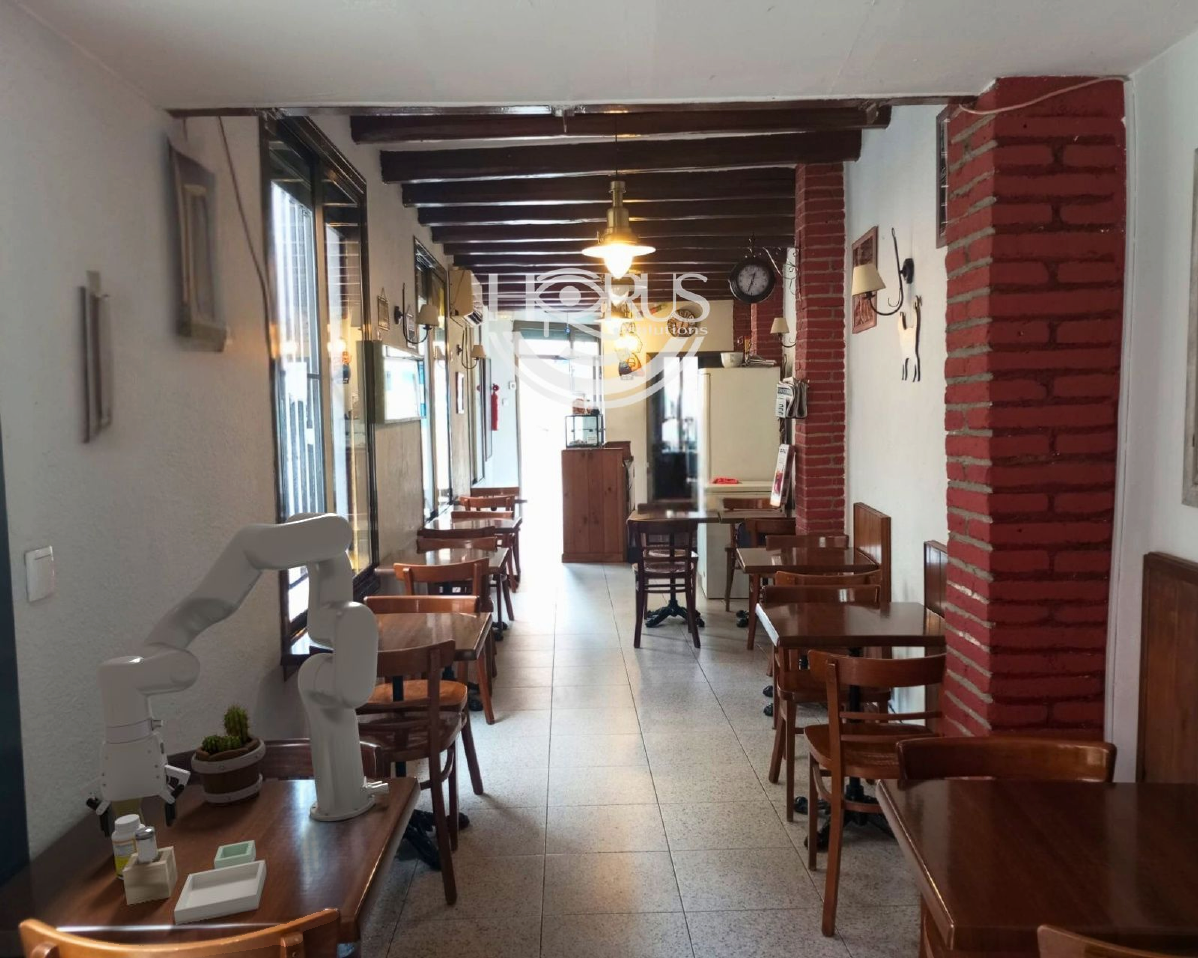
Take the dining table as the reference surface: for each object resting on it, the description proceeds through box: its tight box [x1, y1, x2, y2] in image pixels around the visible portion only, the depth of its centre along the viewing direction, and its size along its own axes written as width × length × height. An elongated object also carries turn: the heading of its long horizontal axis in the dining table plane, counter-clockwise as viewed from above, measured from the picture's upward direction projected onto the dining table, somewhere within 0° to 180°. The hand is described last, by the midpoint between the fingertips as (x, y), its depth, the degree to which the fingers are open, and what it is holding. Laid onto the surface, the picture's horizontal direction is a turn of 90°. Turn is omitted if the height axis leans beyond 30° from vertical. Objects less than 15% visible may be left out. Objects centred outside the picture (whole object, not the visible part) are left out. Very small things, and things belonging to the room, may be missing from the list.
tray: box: [173, 859, 267, 925], centre depth 155 cm, size 12×12×2 cm
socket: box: [213, 839, 257, 869], centre depth 166 cm, size 6×6×3 cm
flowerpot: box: [190, 702, 266, 807], centre depth 197 cm, size 14×15×20 cm
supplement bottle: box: [111, 814, 146, 881], centre depth 167 cm, size 6×6×10 cm
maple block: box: [123, 845, 179, 906], centre depth 159 cm, size 7×7×6 cm
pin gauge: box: [135, 825, 159, 865], centre depth 159 cm, size 3×3×11 cm
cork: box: [111, 797, 147, 827], centre depth 178 cm, size 6×6×11 cm
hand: (140, 828), depth 158 cm, fingers open, 9 cm apart
